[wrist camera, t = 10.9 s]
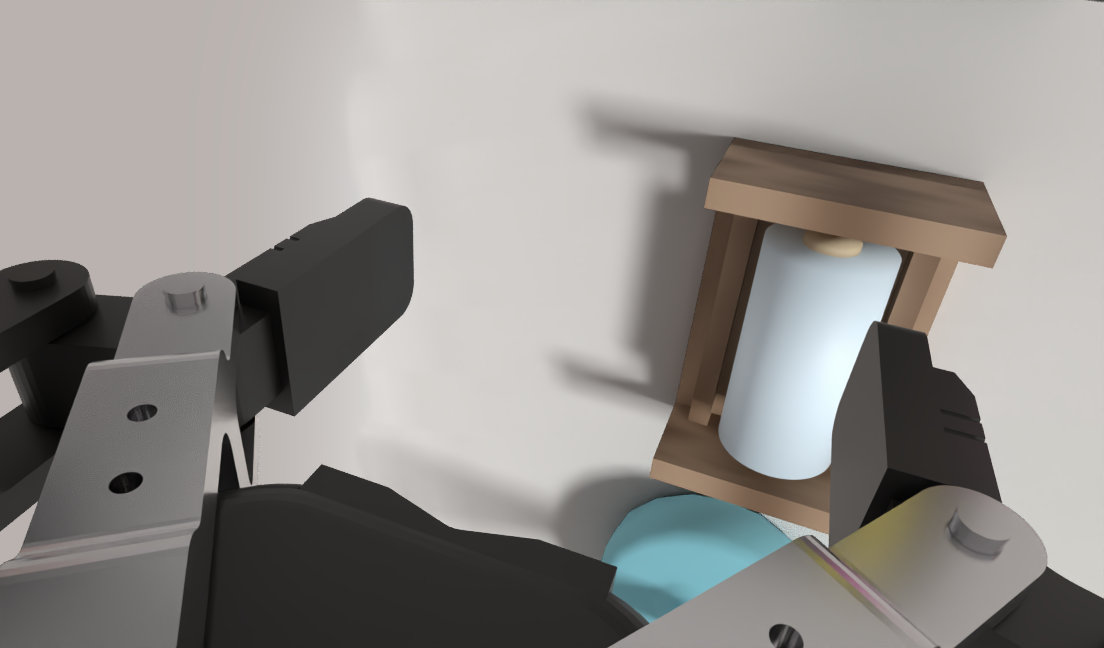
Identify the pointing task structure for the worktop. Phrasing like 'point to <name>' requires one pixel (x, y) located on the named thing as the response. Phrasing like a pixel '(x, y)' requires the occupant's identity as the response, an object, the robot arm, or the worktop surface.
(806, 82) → the worktop surface
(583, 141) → the worktop surface
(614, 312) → the worktop surface
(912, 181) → the roll cradle
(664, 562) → the blue towel holder stand
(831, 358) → the paper roll
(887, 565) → the robot arm
